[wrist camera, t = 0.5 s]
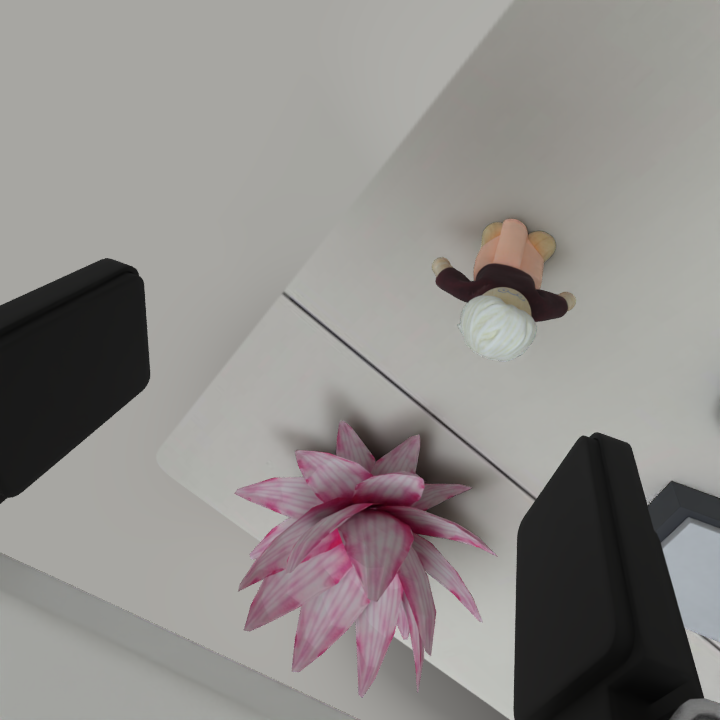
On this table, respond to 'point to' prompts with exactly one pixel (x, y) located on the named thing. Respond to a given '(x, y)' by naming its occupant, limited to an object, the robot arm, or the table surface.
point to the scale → (691, 553)
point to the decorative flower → (355, 552)
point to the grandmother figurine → (504, 291)
